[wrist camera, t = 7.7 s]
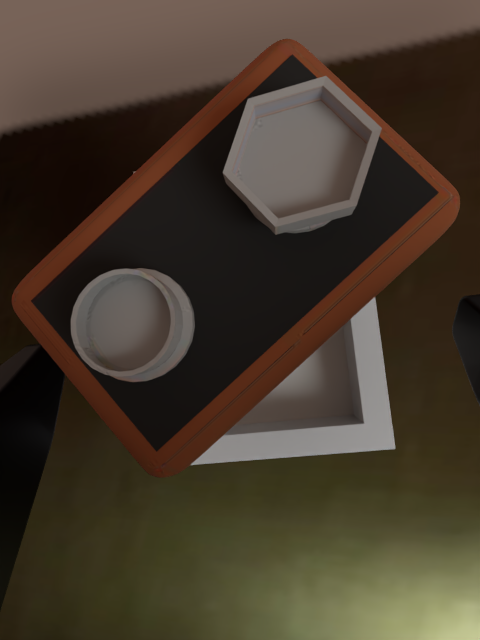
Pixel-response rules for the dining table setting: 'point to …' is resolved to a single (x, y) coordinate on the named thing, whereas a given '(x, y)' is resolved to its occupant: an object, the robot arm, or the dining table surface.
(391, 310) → the dining table surface
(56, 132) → the dining table surface
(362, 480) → the dining table surface
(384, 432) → the tray
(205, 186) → the battery
